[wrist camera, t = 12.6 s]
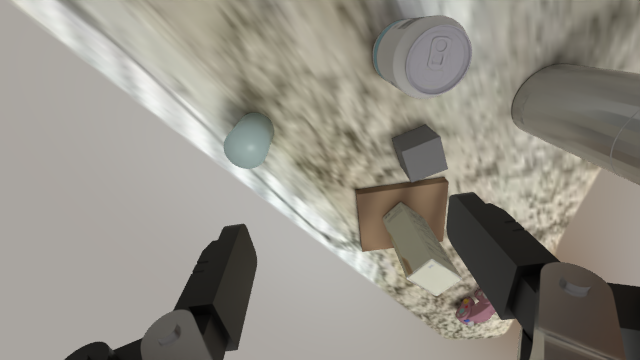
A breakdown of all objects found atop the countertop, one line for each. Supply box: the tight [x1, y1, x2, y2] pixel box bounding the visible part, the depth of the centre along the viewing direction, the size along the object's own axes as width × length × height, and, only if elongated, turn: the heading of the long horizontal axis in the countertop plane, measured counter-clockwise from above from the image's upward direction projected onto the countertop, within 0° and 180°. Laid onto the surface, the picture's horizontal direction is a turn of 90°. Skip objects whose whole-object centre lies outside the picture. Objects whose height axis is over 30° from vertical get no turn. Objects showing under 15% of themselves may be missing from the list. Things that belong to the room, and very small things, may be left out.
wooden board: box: [356, 177, 449, 252], centre depth 45 cm, size 14×12×2 cm
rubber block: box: [392, 125, 448, 183], centre depth 37 cm, size 5×5×5 cm
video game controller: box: [456, 289, 496, 326], centre depth 54 cm, size 10×5×7 cm, turn 141°
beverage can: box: [373, 16, 472, 99], centre depth 28 cm, size 7×7×12 cm
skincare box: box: [383, 202, 462, 296], centre depth 39 cm, size 6×4×12 cm
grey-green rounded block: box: [224, 113, 274, 169], centre depth 35 cm, size 5×5×7 cm
